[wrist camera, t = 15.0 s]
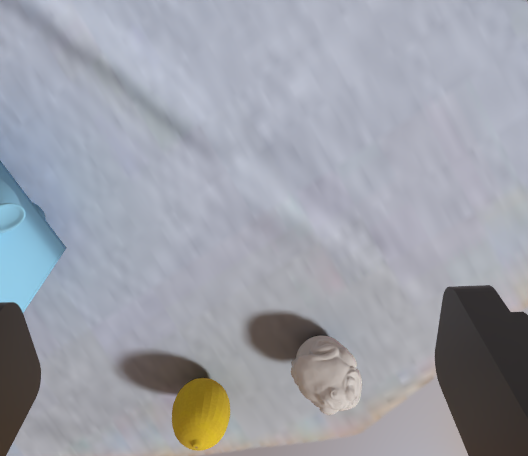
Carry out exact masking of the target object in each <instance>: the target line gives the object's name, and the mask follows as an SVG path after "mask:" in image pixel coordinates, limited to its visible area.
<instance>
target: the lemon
mask: <svg viewBox="0 0 528 456" xmlns="http://www.w3.org/2000/svg"><path fill="white" fill-rule="evenodd" d="M229 418H230V403H229V398H228V396H227V393H226V391H225V390H224V388H223V387H222V386H221V385H220V384H219V383H217V382H216V381H214V380H212V379H208V378H198V379H194V380H192V381H190V382H188V383H187V384H186V385H184V386H183V388H182V389H181V390H180V391H179V393H178V394H177V397H176V399H175V401H174V404H173V410H172V425H173V429H174V433H175V436H176V437H177V439H178V440H179V442H180V443H181V444H183V445H184V446H185V447H187V448H189V449H192V450H205V449H208V448H211V447H213V446H214V445H215V444H217V443H218V442H219V441H220V439H221V438H222V437H223V435H224V433H225V431H226V428H227V425H228V422H229Z"/></svg>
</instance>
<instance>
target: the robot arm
mask: <svg viewBox="0 0 528 456" xmlns="http://www.w3.org/2000/svg"><path fill="white" fill-rule="evenodd" d="M435 366H436V373H437V378H438V381H439V384H440V386H441V389H442V392H443V394H444V397H445V399H446V401H447V404H448V406H449V409H450V411H451V414H452V416H453V418H454V421H455V424H456V426H457V428H458V431H459V433H460V435H461V438H462V440H463V443H464V445H465V448H466V450H467V453H468V455H469V456H528V315H527V314H526V313H524V312H510V311H509V309H508V308H507V306H506V305H505V303H504V302H503V301H502V299H501V298H500V296H499V295H498V293H497V292H496V290H495V289H494V288H493V287H492V286H490V285H485V286H458V287H447V288H446V290H445V292H444V295H443V301H442V307H441V314H440V321H439V328H438V335H437V341H436V348H435ZM40 381H41V368H40V363H39V360H38V357H37V354H36V351H35V348H34V345H33V342H32V339H31V336H30V333H29V330H28V327H27V324H26V321H25V318H24V315H23V312H22V310H21V308H20V306H19V305H18V304H16V303H14V302H2V303H0V456H6V455H7V453H8V451H9V449H10V447H11V445H12V443H13V441H14V439H15V437H16V435H17V433H18V431H19V429H20V428H21V426H22V424H23V422H24V420H25V418H26V416H27V414H28V412H29V410H30V408H31V406H32V404H33V402H34V400H35V399H36V396H37V394H38V391H39V387H40Z"/></svg>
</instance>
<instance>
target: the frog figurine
mask: <svg viewBox="0 0 528 456" xmlns="http://www.w3.org/2000/svg"><path fill="white" fill-rule="evenodd" d="M291 364H292V368H291V375H292V377H293V378H294V381H295V383H296V384H297V385H298V386H299V389H300V391H301V393H302V394H303V395H304V396H305V397H306V398H307V399H309V400H311V402H312V403H314V405H315V406H317V407H319V408H320V410H321V412H323V413H325V414H327V415H332V414H334V413H336V412H337V411H345V410H349V409H351V408H353V407H355V406H356V405H357V404H358V402H359V400H360V396H361V389H362V379H361V375H360V372H359V370H358V369H356V366H357V364H356V360H355V358H354V356H353V355H352V354H351V353H349V351H348V349H347V348H345V347H344V346H343V345H341V344H340V343H339V342H338V341H337V340H335V339H334V338H331V337H329V336H314V337H312V338H310V339H308V340H306V341H305V342H304V343H303V344H302V345H301V346H300V348H299V350H298V352H297V355H296V359H294V360H293V361H292V362H291Z"/></svg>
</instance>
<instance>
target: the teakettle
mask: <svg viewBox="0 0 528 456" xmlns="http://www.w3.org/2000/svg"><path fill="white" fill-rule="evenodd" d="M65 249H66V247H65V246H64V244H63V243H62V241H61V240H60V239H59V238H58V236H57V235H56V234H55V232H54V231H53V230H52V228H51V227H50V226H49V224H48V223H47V222H46V220H45V215H44V212H43V211H42V209H41V208H40V207H39V206H38V205H36V204H34V203H32V202H31V201H30V199H29V198H28V197H27V195H26V194H25V193H24V191H23V190H22V189H21V187H20V186H19V185H18V183H17V182H16V181H15V179H14V178H13V177H12V175H11V174H10V173H9V172H8V170H7V169H6V168H5V166H4V165H3V164H2V162H1V161H0V303H2V302H14V303H16V304H18V305H19V306H20V308H21V310H22V312H24V311H25V309H26V308H27V306H28V305H29V303H30V302H31V300H32V299H33V297H34V296H35V294H36V293H37V291H38V290H39V288H40V287H41V285H42V284H43V282H44V281H45V279H46V278H47V276H48V275H49V273H50V272H51V270H52V269H53V267H54V266H55V264H56V263H57V261H58V260H59V258H60V257H61V255H62V254H63V252H64V251H65Z"/></svg>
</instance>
